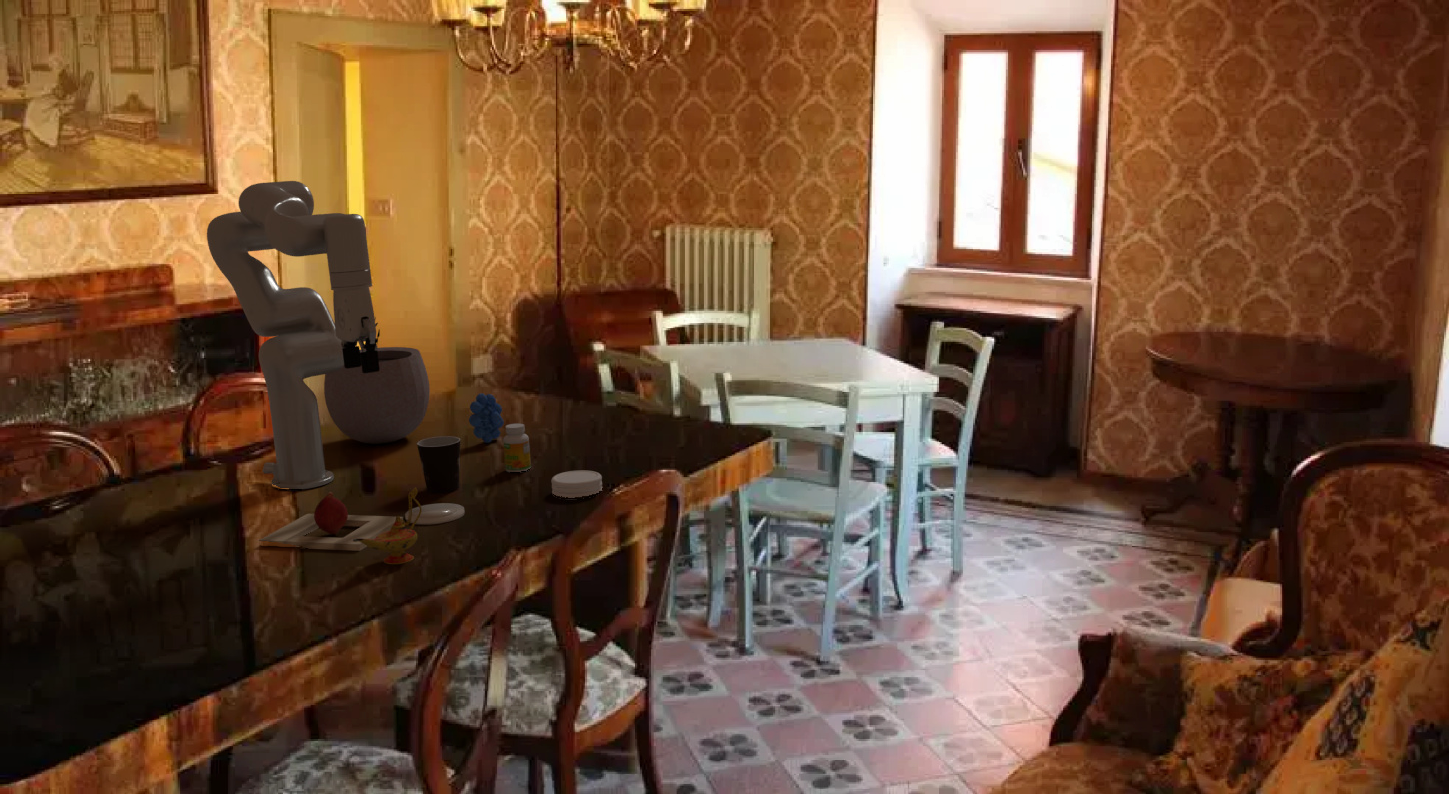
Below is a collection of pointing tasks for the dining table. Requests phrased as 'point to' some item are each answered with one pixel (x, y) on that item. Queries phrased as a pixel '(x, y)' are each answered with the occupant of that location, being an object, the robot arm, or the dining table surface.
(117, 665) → the dining table surface
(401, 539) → the magic lamp
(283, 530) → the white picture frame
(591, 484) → the white round container
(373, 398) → the plant pot
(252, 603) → the dining table surface
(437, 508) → the saucer
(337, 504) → the onion
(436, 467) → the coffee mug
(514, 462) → the supplement bottle
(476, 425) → the grapes
